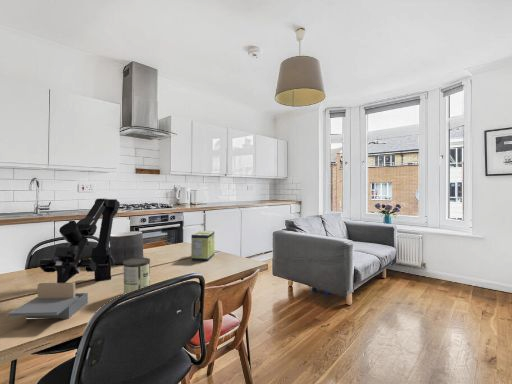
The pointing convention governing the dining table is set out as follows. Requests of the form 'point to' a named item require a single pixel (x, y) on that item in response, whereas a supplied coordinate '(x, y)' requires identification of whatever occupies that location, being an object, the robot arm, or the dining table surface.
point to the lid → (48, 300)
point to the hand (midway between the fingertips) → (58, 286)
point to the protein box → (202, 245)
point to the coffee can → (136, 274)
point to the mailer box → (69, 308)
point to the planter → (126, 246)
